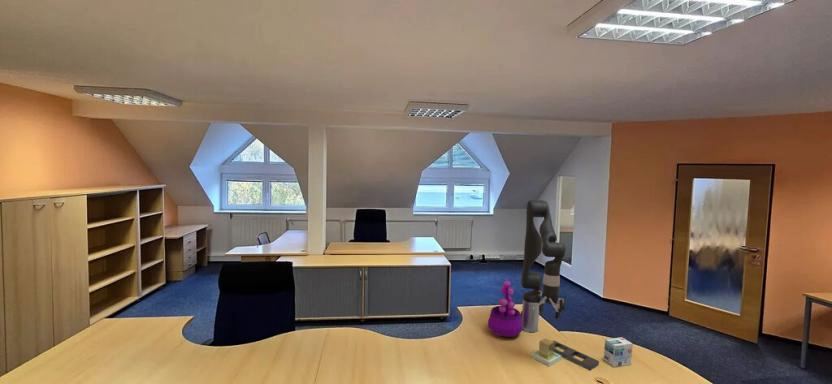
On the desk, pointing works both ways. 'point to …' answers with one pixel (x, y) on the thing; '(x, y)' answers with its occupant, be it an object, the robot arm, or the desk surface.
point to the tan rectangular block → (546, 349)
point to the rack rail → (569, 353)
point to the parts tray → (549, 363)
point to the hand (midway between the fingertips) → (549, 315)
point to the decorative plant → (505, 315)
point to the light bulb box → (618, 352)
